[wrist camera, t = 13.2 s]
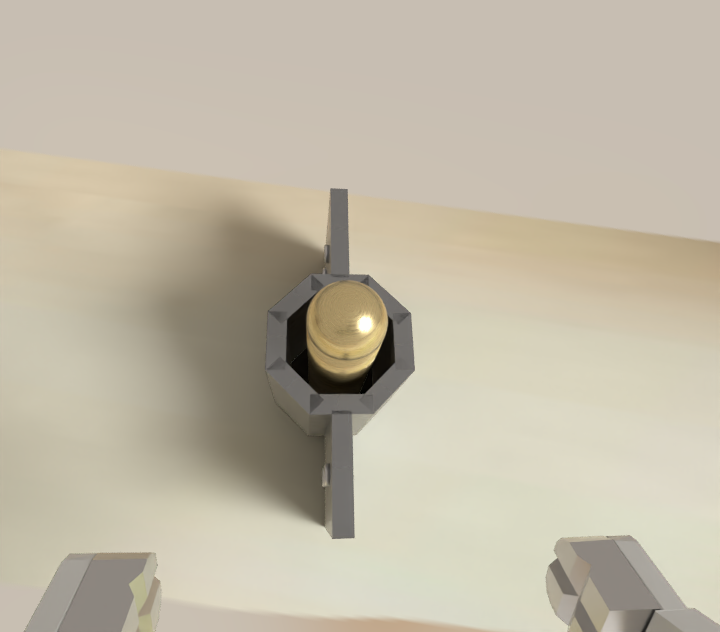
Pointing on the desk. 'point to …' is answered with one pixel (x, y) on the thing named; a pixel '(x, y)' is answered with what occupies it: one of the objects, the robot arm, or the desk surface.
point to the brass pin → (343, 336)
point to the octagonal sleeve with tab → (335, 411)
